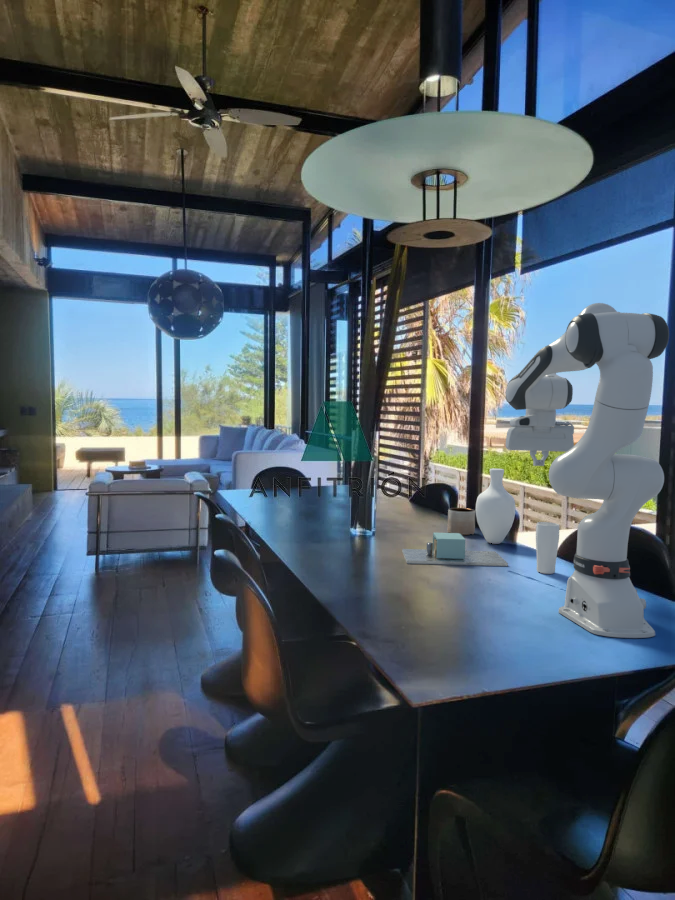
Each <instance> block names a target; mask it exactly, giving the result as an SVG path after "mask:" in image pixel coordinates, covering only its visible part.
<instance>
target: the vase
mask: <svg viewBox="0 0 675 900" xmlns="http://www.w3.org/2000/svg"><path fill="white" fill-rule="evenodd" d="M504 474H505V469H504V468H493V467H492V468H489V476H490V482H489V486H488V487H487V488H486V489H485V490H484V491H482V492H480V493H479V494H478V496H477V498H476V502H475V518H476V522H477V525H478V527H479V529H480V531H481V533H482V535H483V537H484V539H485V541H486V542H487V543H489V544H491V543H492V545H499V544H501V543H503V541H504V540H505V538H506V537H507V535H508V533H509V532H510V530H511V528H512V526H513V523H514V520H515V515H516V500H515V497H514V496H513V495H512V494H510V493H509V492H508V491H507V490H506V488H505V487H504V484H503V477H504Z"/></svg>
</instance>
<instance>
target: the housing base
mask: <svg viewBox="0 0 675 900" xmlns="http://www.w3.org/2000/svg"><path fill="white" fill-rule="evenodd" d="M401 552H402V555H403V558H404V560H405V562H406V564H408V565H409V564H411V565H412V564H415V565H416V564H417V565H447V566H448V565H450V566H483V567H484V566H485V567H486V566H487V567H489V566H490V567H508V565H509V563H508V562H507V561H506V560H505V558H503V557H502V556H501V555H500V554H499V553H498V552H497V551H496V550H495V551H493V550H491V551H490V550H488V551H487V550H465V559H454V558H437V557H435V555H434V551H433V542H426V549H425V548H424V549H423V548H422V549H420V548H419V549H417V548H401Z"/></svg>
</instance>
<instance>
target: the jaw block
mask: <svg viewBox="0 0 675 900" xmlns="http://www.w3.org/2000/svg"><path fill="white" fill-rule="evenodd" d="M434 555H435V557H437V540H436V539H434Z"/></svg>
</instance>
